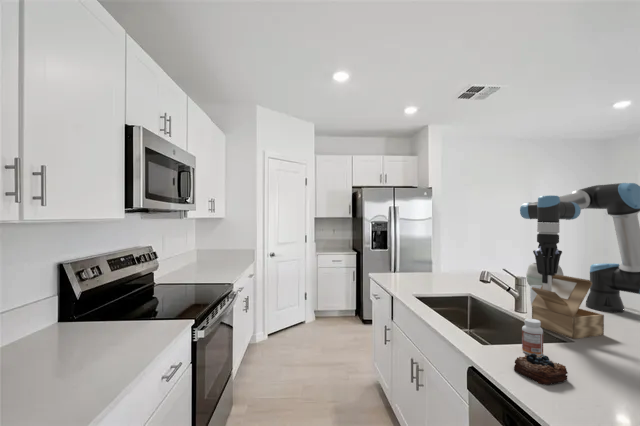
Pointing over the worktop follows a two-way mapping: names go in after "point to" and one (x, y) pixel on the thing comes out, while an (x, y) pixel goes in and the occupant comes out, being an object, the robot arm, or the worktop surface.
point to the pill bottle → (532, 337)
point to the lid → (562, 295)
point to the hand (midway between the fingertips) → (547, 291)
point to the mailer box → (570, 322)
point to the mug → (533, 292)
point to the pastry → (540, 369)
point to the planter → (537, 275)
